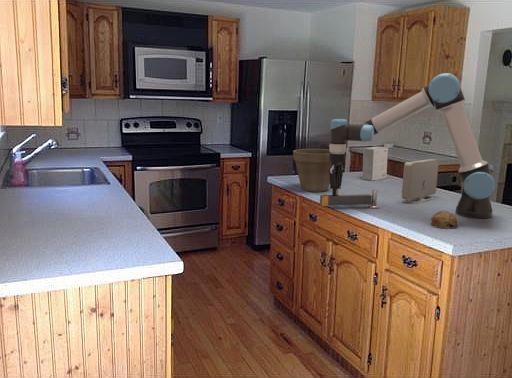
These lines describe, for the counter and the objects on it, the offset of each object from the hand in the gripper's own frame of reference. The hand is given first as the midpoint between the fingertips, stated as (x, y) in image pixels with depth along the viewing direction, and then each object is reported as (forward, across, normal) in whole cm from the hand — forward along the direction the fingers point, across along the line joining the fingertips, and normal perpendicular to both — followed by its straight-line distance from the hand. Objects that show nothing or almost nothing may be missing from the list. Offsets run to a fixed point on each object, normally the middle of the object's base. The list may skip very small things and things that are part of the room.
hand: (334, 202), depth 222 cm
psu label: (+2, -26, +1) cm, 26 cm away
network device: (+3, -40, +29) cm, 49 cm away
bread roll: (+2, +4, +50) cm, 50 cm away
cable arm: (0, 0, +5) cm, 5 cm away
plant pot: (+3, -31, -26) cm, 40 cm away
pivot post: (+2, -10, +16) cm, 19 cm away
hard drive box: (+3, -84, -10) cm, 85 cm away
